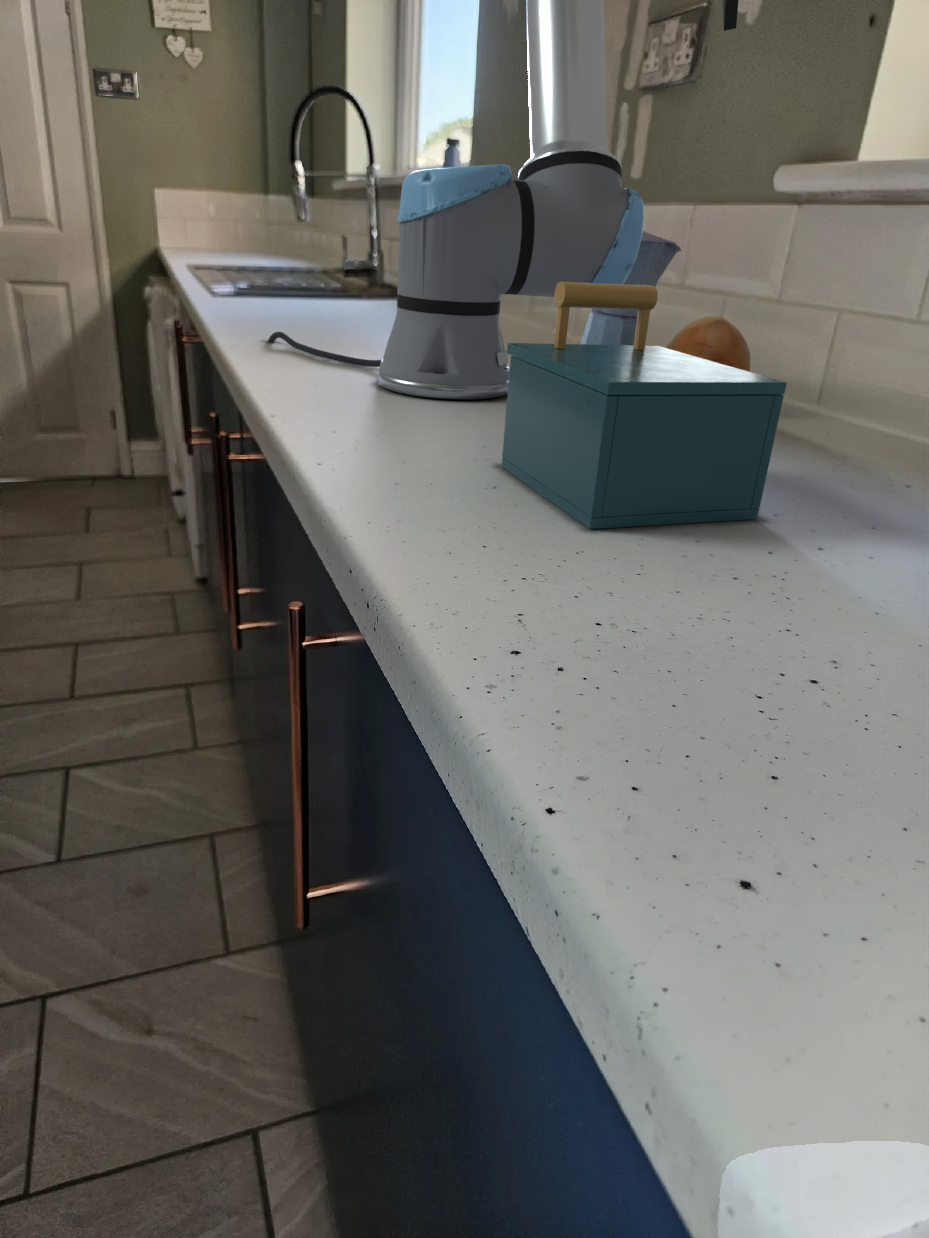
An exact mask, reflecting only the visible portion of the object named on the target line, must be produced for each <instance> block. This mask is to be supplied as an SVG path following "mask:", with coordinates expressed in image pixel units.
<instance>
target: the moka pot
mask: <svg viewBox="0 0 929 1238" xmlns="http://www.w3.org/2000/svg"><path fill="white" fill-rule="evenodd" d="M678 252H682V249H681V247H680V245H678V244H677V243H676V242H675V241H672V240H669V239H667V238H663V237H659V236H656V235H654V234H651V233H650V232H647V231H645V230H643V233H642V238H641V243H640V247H639V250H638V254H637V257H636V260H635V262H634V264H633V267H632V269H631V272H630V274H629V275H628V277H627V279H626V281H625V282H624V284H629V285H650V286H654V287H656V288H657V283H658V282H659V280H660V279H661V277H662V276H663V274H664V273H665V271H666V270H667V268H668V266H669V265H670V264H671V262H672V260H673V259H674V258H675V256H676V254H678ZM638 311H639V310H629V309H600V308H590V313H589V314H588V318H587V321H586V323H585V327H584V331H583V335H582V337H581V340H580V344H589V345H634V339H635V332H636V325H637V318H638Z"/></svg>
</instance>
